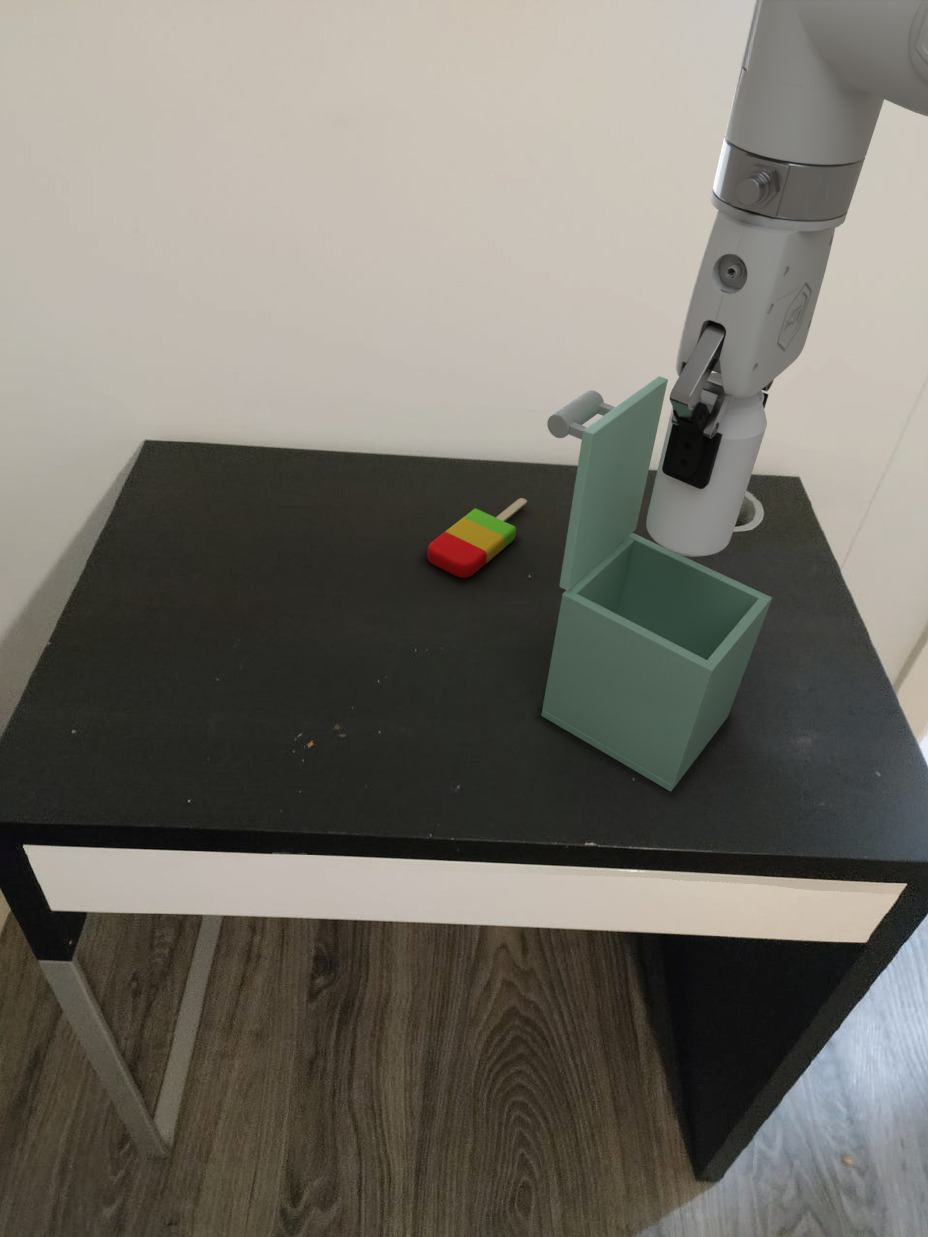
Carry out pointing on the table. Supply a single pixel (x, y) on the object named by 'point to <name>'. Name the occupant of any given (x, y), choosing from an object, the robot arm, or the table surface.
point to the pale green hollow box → (651, 657)
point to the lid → (607, 472)
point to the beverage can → (710, 513)
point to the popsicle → (473, 541)
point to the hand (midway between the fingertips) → (708, 456)
